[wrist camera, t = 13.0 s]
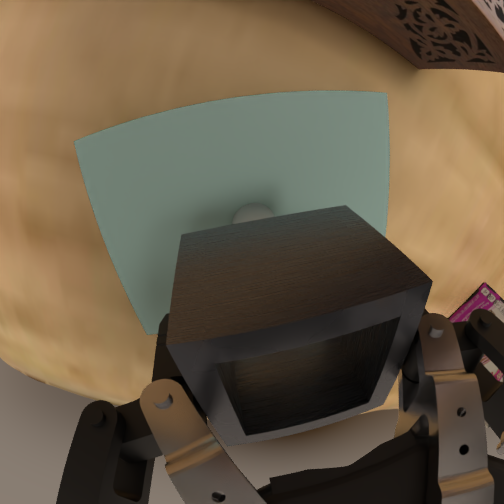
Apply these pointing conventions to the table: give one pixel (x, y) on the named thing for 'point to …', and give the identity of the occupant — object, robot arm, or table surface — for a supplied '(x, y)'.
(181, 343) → the open box
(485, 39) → the tissue box cover
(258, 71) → the table surface
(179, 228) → the post board
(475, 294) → the candy bar box
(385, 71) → the table surface
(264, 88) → the table surface
